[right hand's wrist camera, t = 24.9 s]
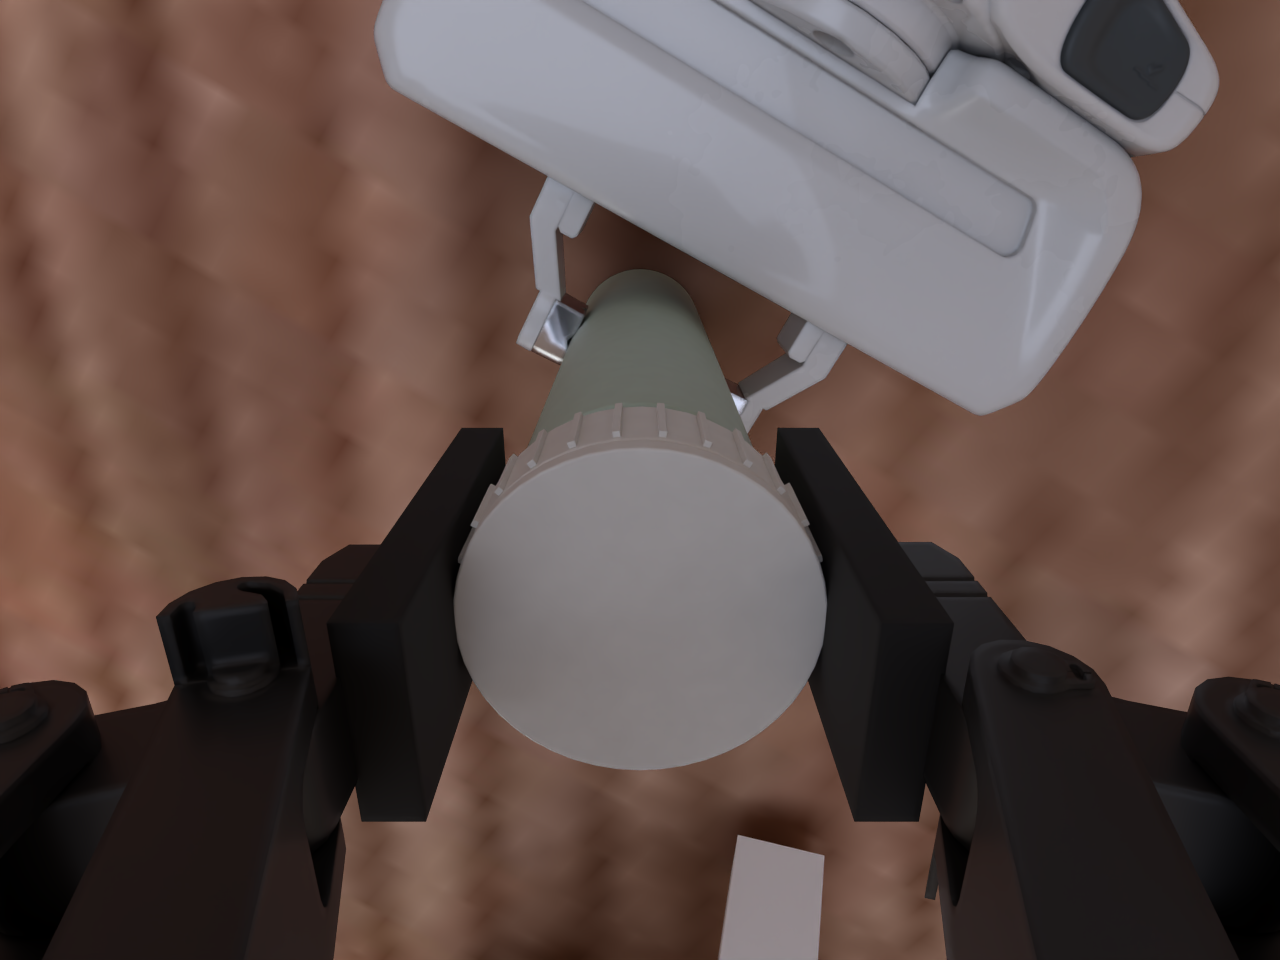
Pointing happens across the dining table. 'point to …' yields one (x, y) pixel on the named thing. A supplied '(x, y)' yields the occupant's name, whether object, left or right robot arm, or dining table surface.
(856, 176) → the left robot arm
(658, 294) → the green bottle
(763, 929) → the pile of blocks
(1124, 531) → the dining table surface
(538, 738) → the lid
